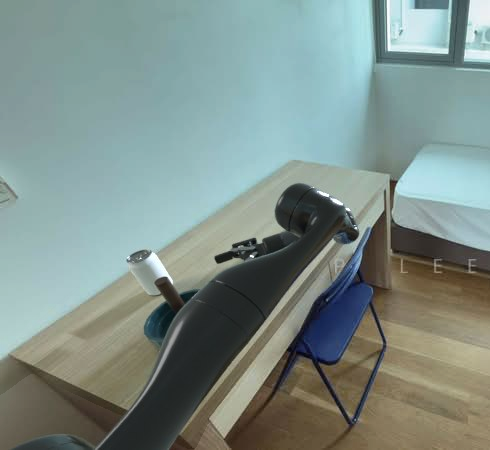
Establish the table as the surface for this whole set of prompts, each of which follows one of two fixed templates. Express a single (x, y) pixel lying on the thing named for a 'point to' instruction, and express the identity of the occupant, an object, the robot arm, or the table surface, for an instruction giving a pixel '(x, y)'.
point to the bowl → (163, 320)
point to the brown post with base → (169, 293)
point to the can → (147, 270)
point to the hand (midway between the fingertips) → (217, 270)
